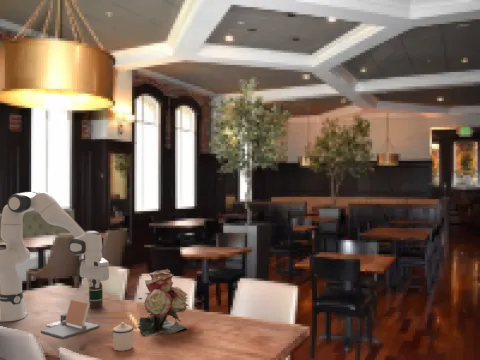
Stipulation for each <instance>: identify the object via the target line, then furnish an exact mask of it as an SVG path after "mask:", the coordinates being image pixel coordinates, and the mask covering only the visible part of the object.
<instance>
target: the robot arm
mask: <svg viewBox="0 0 480 360" xmlns="http://www.w3.org/2000/svg"><path fill="white" fill-rule="evenodd" d="M35 211H36V212H37V213H38V214H39V215H40V216H41V218H42V219H43V221H45V222H46V223H47V224H48V225H52V226H56V227H57V226H58V227H60V228H64V229H65V230H67V231H68V232H69V233H70V235H72V236H73V238H72V239H70V240H69V241H68V242H67V251H68V252H69V253H70V254H71V255H73V256H81V255H84V259H83V260H82V261H81V262H80V266H79V276H80V278H85V279H86V281H87V282H88V288H89V287H92V286H93V283H92V279H95V280H96V282H97V283H96V284H95V288H99V284H100V282H101V283H102V282H104V281H108V280H109V278H110V270H109V263H110V262H109V260H107V259H106V258H104V257H103V253H102V249H103V240H102V239H103V238H102V235H101V233H100V232H98V231H96V230H87V231H85V230H84V228H82V227H81V225H80V224H79V223H78V222H77V221H76V220H75V219H74V218H73V217H72V216H71V215H69V213H67V211H65V209H63V207H62V206H61V205H60V204H59V202H58V201H57V200H56V199H55V198H54V197H53V196H52V195H50V194H49V193H48V192H47V191H40V192H34V191H24V192H20V193H19V192H18V193H14V194H12V195H10V196H9V198H8V199H7V204H6V205H4V207H3V208H2V213H1V220H0V239H1V240H2V241H4V244H5V247H6V248H5V249H0V323H2V322H4V323H5V322H14V321H19V320H22V319H24V318H25V317H26V316H28V312H27V311H26V303H25V300H24V299H23V298H24V293H23V279H22V276H20V275H19V274H18V272H17V269H16V268H17V267H20V266H23V265H25V264H26V263H27V262H29V260H30V259H31V252H30V251H29V249H28V248H27V247H26V245H25V242H24V237H23V236H24V235H23V232H24V230H23V228H24V227H23V226H24V215H25V214H26V213H31V212H35Z"/></svg>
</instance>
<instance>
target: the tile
mask: <svg viewBox="0 0 480 360" xmlns="http://www.w3.org/2000/svg"><path fill="white" fill-rule="evenodd" d="M69 302H70V303H69V306H68V310H67V313H66V314H67V316H66V320H65V323H69V324H73V325H77V326H81V327H82V326H84V324H85V322H86V319H87V317H88V312H89V309H90V307H89V305H90V303H89V302H86V301H81V300H76V299H72V298H71V299H70V301H69Z"/></svg>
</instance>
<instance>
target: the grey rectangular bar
mask: <svg viewBox="0 0 480 360" xmlns="http://www.w3.org/2000/svg"><path fill="white" fill-rule="evenodd" d="M66 316H67V313H63V314H61V315H60V320H58V321H54V322H51V323H48V324H46V325H45V326H46V327H48V328H51V327H55V326H58V325H62V321H64V320H66Z"/></svg>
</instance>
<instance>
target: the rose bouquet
mask: <svg viewBox="0 0 480 360" xmlns="http://www.w3.org/2000/svg"><path fill="white" fill-rule="evenodd" d="M148 274H149V276H150V280H145V281H144V284H145V286H146V288H147V290H148V292H145V295H147V296H145V297H146V298H145V300H144V302H143V304H144V306H143V307H142V309H143V310H145V311H146V313H148V314H149V315H148V316H147V317H144V316H141V317H139V322H138V323H137V328H138V330H139V331H140V333H141V334H142V335H143V336H145V337H147V336H148V337H149V336H157V335H160V334H164V335H165V334H166V335H169V334H175V333H177V332H179V331H181V330H184V329H185V330H188V329H189V328H188V326H186V325H183V324H180V323H182V321H181V319H179V316H178V313H184V312H185V311H187V308H188V306H189V304H188V303H187V302H188V299H189V298H188V295H189V294H187V292H185V291H184V290H182V288H181V287H178V286H173V284H174V281H172V279H173V277H174V274H172V273H171V271H170V269H168V268H165V269H161V270H155V271H153V272H149V273H148ZM138 300H143V297H138ZM168 317H172V318H173V319H175V322H173V321H172V320H168V319H167V318H168ZM162 328H163V329H162Z"/></svg>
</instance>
